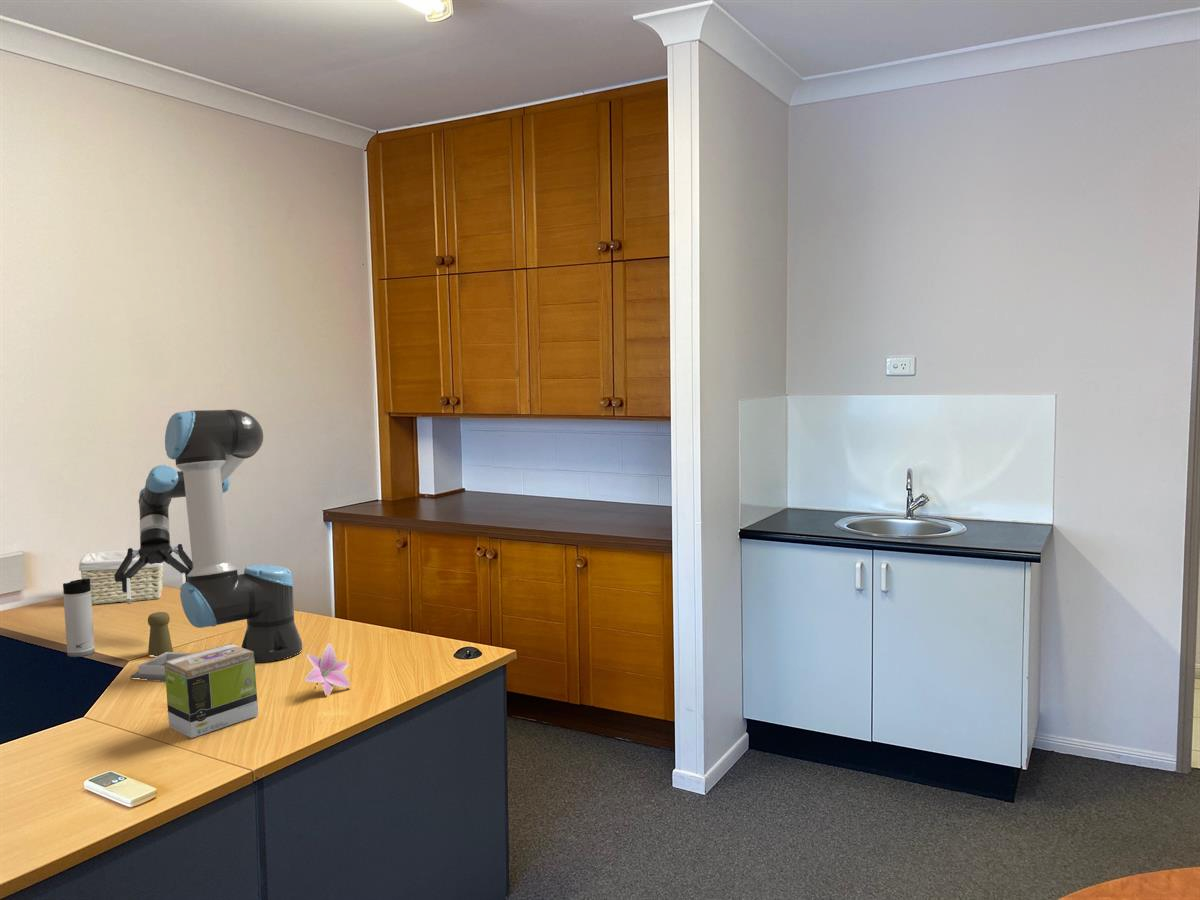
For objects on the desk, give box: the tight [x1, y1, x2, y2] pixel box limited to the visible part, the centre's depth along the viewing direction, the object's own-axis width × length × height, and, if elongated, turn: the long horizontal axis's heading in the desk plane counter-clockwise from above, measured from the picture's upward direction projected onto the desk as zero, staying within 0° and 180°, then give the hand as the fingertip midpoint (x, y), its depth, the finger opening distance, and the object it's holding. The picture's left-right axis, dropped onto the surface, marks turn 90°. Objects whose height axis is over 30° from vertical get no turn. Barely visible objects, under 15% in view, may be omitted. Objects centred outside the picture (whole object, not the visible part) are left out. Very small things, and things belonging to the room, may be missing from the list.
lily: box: [304, 642, 352, 696], centre depth 207 cm, size 12×12×10 cm
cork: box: [147, 611, 174, 656], centre depth 233 cm, size 6×6×11 cm
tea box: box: [165, 642, 259, 739], centre depth 188 cm, size 15×10×15 cm, turn 141°
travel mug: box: [62, 578, 96, 658], centre depth 233 cm, size 6×7×20 cm
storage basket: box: [78, 548, 165, 605], centre depth 290 cm, size 24×16×15 cm
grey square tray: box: [130, 651, 193, 682], centre depth 220 cm, size 13×13×3 cm
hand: (157, 598), depth 240 cm, fingers open, 13 cm apart
